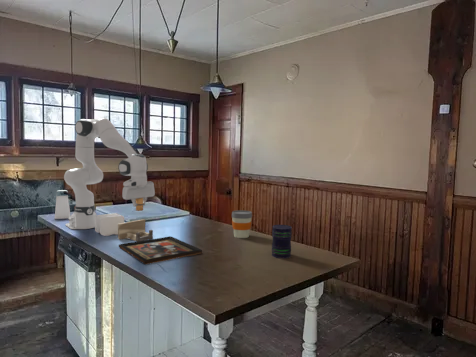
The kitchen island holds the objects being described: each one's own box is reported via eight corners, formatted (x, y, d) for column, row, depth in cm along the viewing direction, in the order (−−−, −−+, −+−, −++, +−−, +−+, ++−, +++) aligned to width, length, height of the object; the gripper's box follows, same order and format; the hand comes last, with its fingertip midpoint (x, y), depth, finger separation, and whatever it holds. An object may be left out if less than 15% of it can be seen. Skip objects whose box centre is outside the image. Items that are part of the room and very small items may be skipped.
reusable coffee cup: (255, 236, 220) (256, 212, 219) (242, 240, 211) (242, 214, 210) (240, 232, 229) (241, 209, 227) (227, 236, 219) (227, 211, 218)
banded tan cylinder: (134, 210, 208) (134, 198, 207) (140, 209, 211) (140, 197, 210) (138, 211, 205) (138, 199, 205) (144, 210, 208) (144, 198, 208)
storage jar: (286, 259, 176) (286, 229, 174) (268, 256, 181) (268, 227, 179) (294, 254, 184) (295, 226, 183) (276, 251, 189) (277, 223, 188)
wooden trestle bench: (118, 239, 208) (117, 223, 207) (143, 233, 222) (143, 219, 221) (132, 243, 200) (131, 227, 199) (157, 237, 214) (157, 222, 213)
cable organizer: (99, 237, 212) (98, 217, 211) (94, 233, 221) (94, 214, 219) (124, 233, 220) (124, 215, 219) (119, 230, 229) (119, 212, 228)
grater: (55, 216, 269) (54, 189, 267) (70, 215, 273) (69, 189, 272) (54, 219, 259) (53, 191, 258) (70, 218, 264) (69, 191, 262)
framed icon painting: (208, 252, 187) (208, 247, 186) (148, 268, 162) (148, 262, 162) (167, 238, 214) (167, 234, 214) (111, 250, 189) (111, 245, 189)
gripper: (150, 180, 217) (150, 203, 218) (120, 182, 201) (121, 207, 202) (157, 181, 213) (157, 204, 214) (127, 183, 197) (127, 208, 198)
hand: (139, 205), depth 208 cm, fingers closed on banded tan cylinder, 4 cm apart
